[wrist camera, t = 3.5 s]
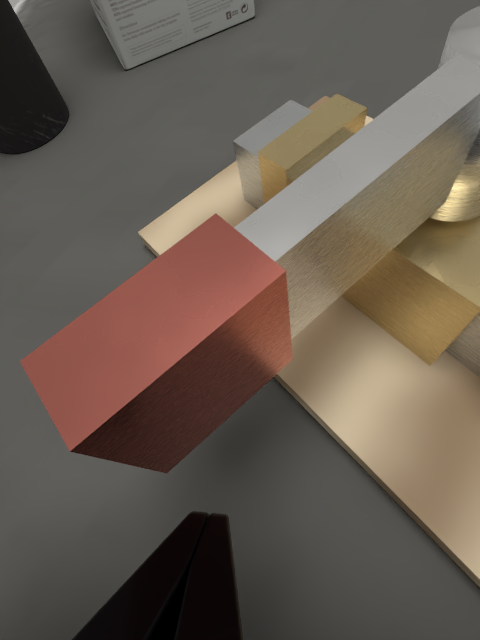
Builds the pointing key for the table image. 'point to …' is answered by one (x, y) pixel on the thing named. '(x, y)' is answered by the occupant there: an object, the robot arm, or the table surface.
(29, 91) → the travel mug
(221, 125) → the table surface
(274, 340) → the lever
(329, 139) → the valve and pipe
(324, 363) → the oak board
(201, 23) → the supplement box
